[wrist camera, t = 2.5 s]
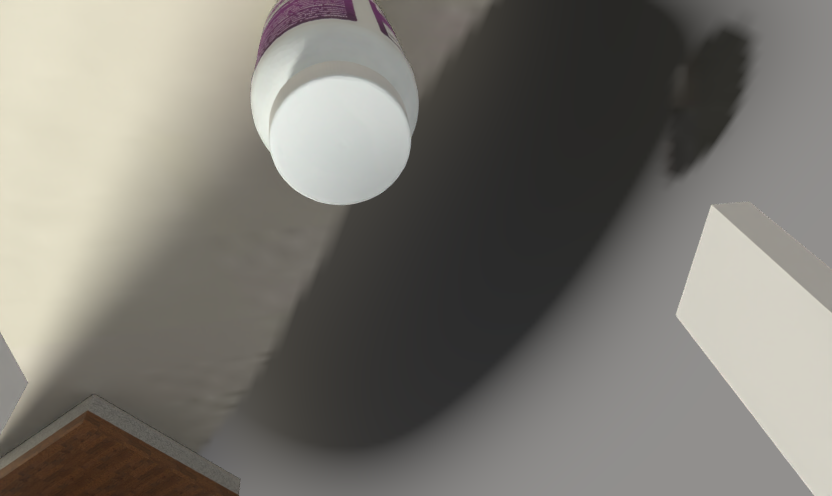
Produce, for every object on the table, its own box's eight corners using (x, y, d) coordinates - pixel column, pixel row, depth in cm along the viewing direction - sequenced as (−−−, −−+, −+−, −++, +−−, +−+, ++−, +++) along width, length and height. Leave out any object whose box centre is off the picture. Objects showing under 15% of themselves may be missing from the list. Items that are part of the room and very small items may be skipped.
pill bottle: (249, 88, 24) (221, 201, 17) (280, -44, 22) (264, 16, 14) (370, 125, 26) (397, 243, 18) (413, 7, 24) (465, 86, 16)
